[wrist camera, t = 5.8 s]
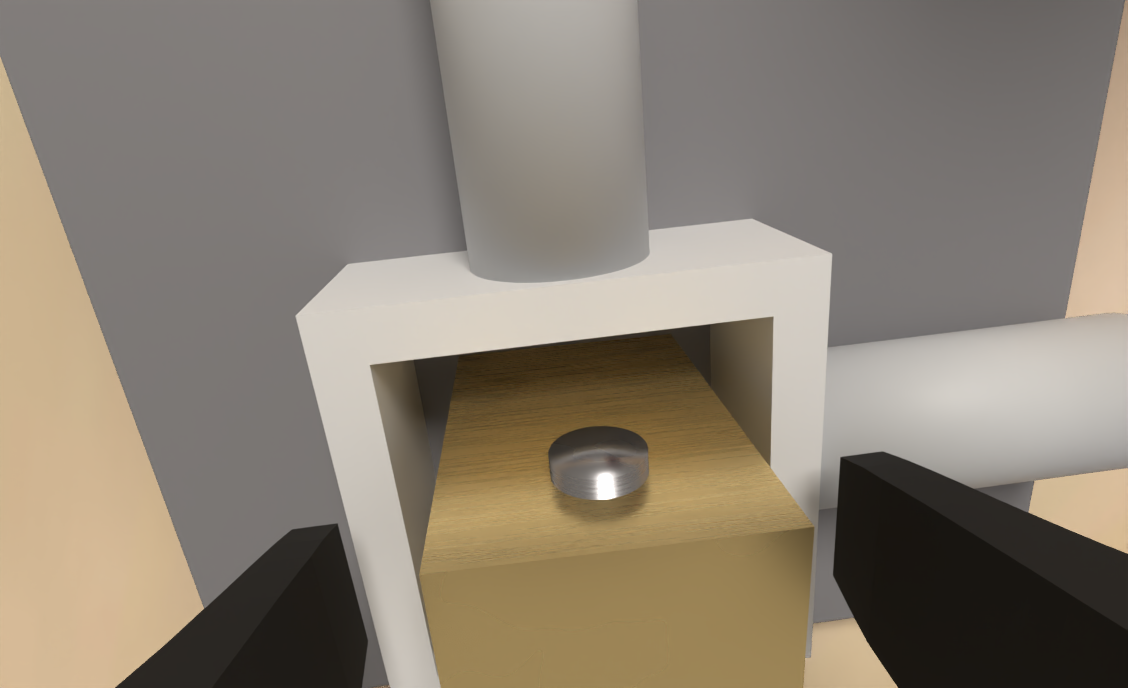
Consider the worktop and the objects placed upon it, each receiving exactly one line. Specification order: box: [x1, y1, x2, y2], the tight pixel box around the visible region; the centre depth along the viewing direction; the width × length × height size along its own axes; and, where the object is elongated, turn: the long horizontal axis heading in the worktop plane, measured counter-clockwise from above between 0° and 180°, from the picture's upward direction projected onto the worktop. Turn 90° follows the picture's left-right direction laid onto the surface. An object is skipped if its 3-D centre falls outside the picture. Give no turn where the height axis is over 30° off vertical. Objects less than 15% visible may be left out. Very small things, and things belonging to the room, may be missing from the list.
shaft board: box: [0, 0, 1128, 688], centre depth 11 cm, size 18×18×4 cm
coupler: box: [419, 334, 815, 688], centre depth 10 cm, size 4×5×6 cm
